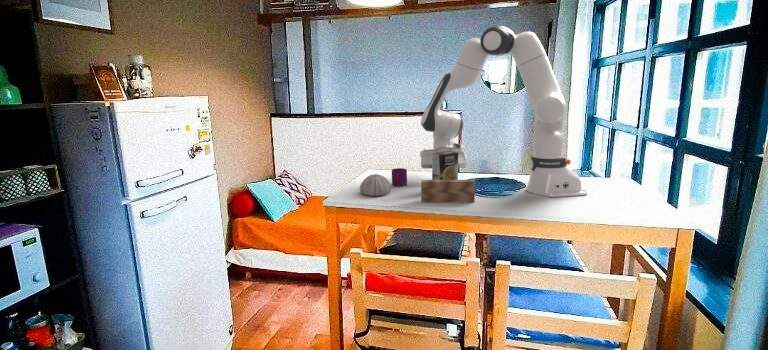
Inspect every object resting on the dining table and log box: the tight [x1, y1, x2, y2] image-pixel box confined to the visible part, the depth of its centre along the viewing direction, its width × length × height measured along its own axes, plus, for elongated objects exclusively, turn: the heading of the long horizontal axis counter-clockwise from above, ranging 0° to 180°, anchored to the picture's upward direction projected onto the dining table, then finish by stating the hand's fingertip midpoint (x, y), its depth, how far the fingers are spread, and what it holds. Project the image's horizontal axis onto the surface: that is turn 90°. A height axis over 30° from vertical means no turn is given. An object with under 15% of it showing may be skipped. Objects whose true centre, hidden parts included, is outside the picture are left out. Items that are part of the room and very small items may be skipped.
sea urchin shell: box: [359, 173, 392, 197], centre depth 165 cm, size 13×14×8 cm
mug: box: [391, 167, 408, 187], centre depth 176 cm, size 7×10×7 cm
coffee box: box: [431, 151, 459, 180], centre depth 166 cm, size 9×6×16 cm
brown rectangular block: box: [420, 179, 476, 203], centre depth 153 cm, size 20×5×8 cm, turn 85°
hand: (444, 175), depth 172 cm, fingers closed
